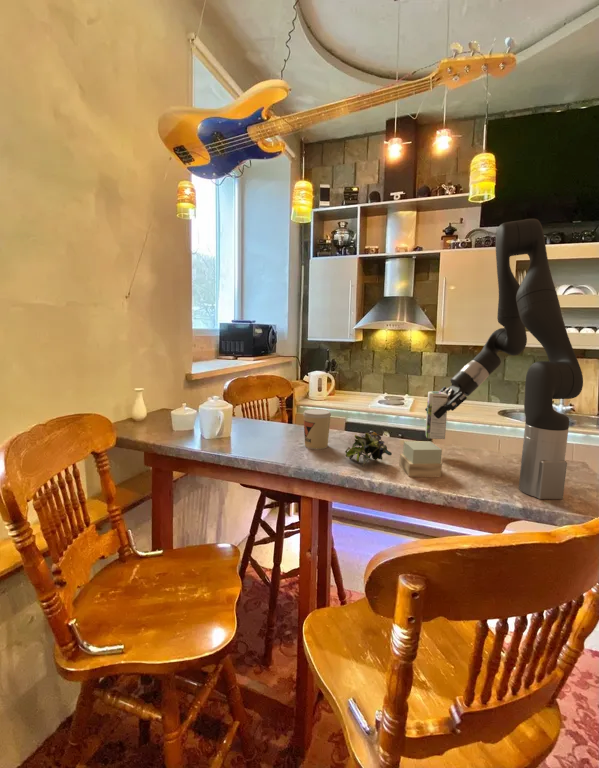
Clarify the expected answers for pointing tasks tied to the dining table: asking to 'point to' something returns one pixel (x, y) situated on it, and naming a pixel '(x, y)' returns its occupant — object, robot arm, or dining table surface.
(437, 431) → the syrup box
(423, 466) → the tower base
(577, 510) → the dining table surface
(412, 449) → the tower top
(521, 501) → the dining table surface
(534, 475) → the robot arm
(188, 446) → the dining table surface
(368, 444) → the passion flower
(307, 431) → the coffee cup
